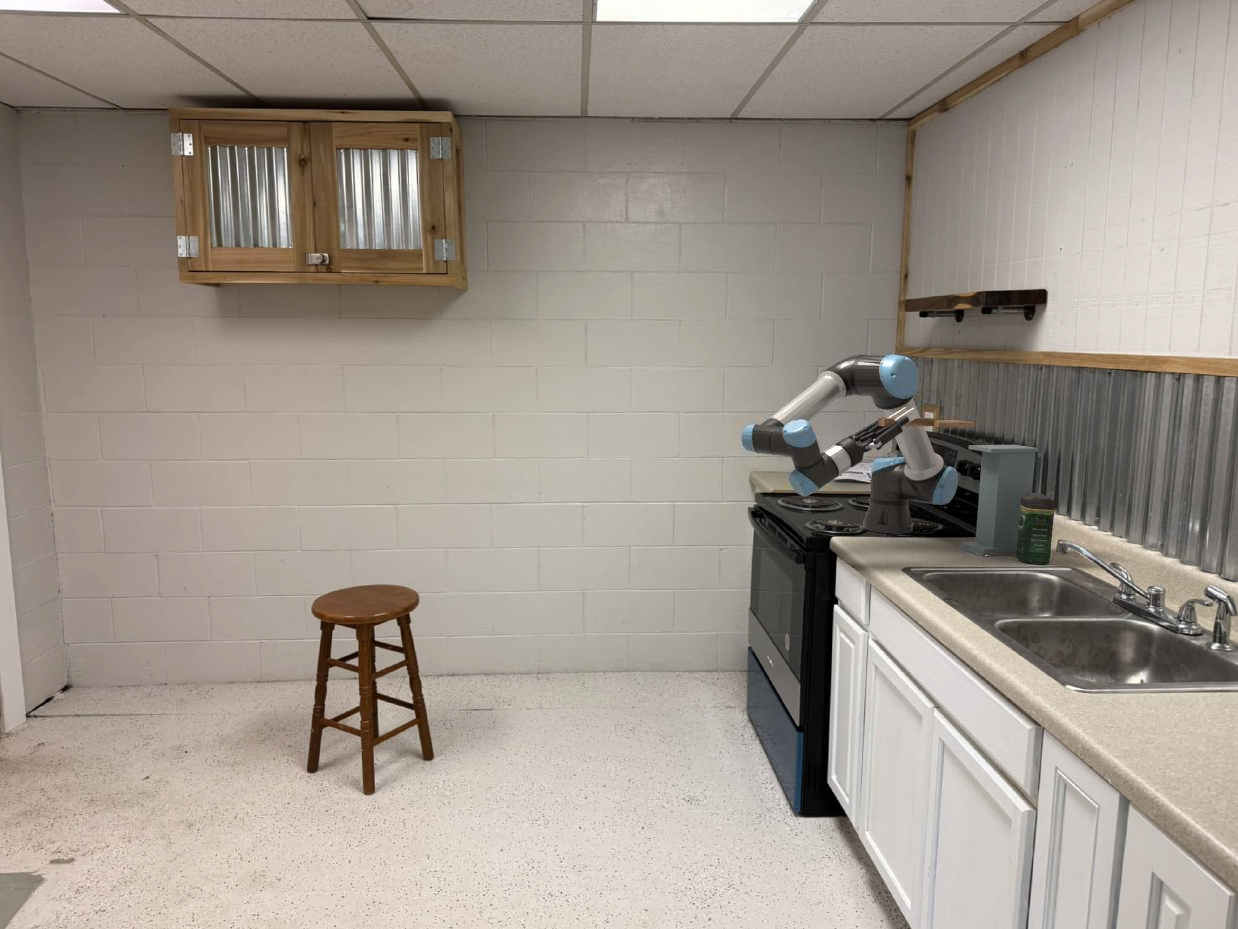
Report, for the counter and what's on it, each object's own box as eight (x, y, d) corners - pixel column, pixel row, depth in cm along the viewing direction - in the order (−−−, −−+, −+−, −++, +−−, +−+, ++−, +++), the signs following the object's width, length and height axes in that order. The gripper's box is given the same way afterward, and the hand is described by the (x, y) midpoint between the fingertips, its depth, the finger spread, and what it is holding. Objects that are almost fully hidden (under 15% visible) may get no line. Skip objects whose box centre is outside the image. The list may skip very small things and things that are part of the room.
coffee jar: (1053, 566, 227) (1059, 497, 225) (1021, 564, 229) (1026, 495, 226) (1043, 558, 236) (1049, 491, 234) (1013, 556, 238) (1018, 490, 236)
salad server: (872, 424, 230) (872, 417, 230) (954, 424, 238) (954, 417, 238) (889, 427, 223) (889, 419, 223) (973, 426, 231) (973, 419, 231)
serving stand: (961, 549, 245) (968, 445, 241) (1006, 546, 250) (1014, 444, 246) (983, 556, 237) (991, 448, 233) (1029, 553, 241) (1038, 448, 238)
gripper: (832, 464, 233) (898, 421, 237) (865, 472, 218) (935, 426, 222) (821, 441, 231) (888, 398, 235) (854, 447, 216) (925, 401, 220)
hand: (911, 411), depth 229 cm, fingers closed on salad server, 3 cm apart
